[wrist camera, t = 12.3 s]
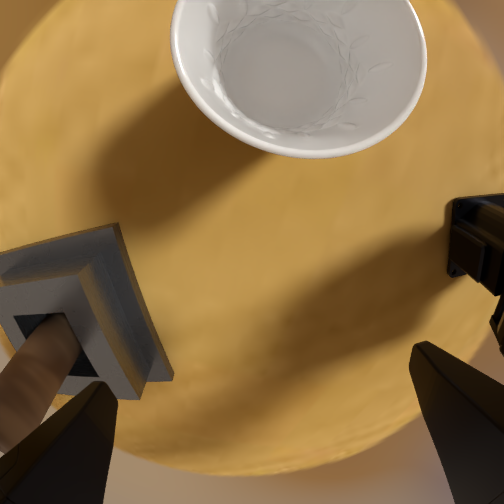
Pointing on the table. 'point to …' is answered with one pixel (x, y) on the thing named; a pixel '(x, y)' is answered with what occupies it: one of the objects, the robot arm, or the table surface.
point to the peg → (35, 378)
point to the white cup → (301, 70)
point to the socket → (85, 308)
